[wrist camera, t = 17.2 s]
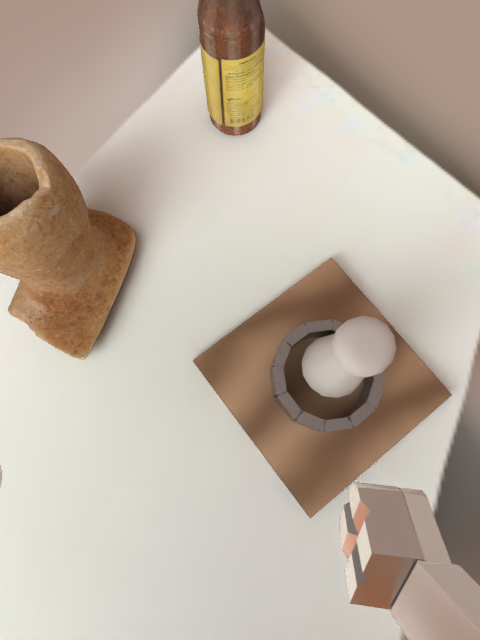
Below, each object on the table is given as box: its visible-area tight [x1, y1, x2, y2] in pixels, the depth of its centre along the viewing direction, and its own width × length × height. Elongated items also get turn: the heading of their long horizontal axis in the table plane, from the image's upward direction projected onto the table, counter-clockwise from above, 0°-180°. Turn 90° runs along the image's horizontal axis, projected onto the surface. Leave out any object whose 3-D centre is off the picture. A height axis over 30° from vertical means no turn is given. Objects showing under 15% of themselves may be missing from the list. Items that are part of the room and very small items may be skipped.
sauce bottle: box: [197, 0, 265, 135], centre depth 40 cm, size 7×6×20 cm
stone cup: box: [0, 138, 136, 359], centre depth 36 cm, size 15×12×15 cm
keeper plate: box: [193, 258, 451, 518], centre depth 41 cm, size 18×18×1 cm
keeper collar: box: [269, 319, 385, 432], centre depth 39 cm, size 10×10×3 cm
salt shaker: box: [302, 316, 397, 398], centre depth 34 cm, size 6×6×13 cm
